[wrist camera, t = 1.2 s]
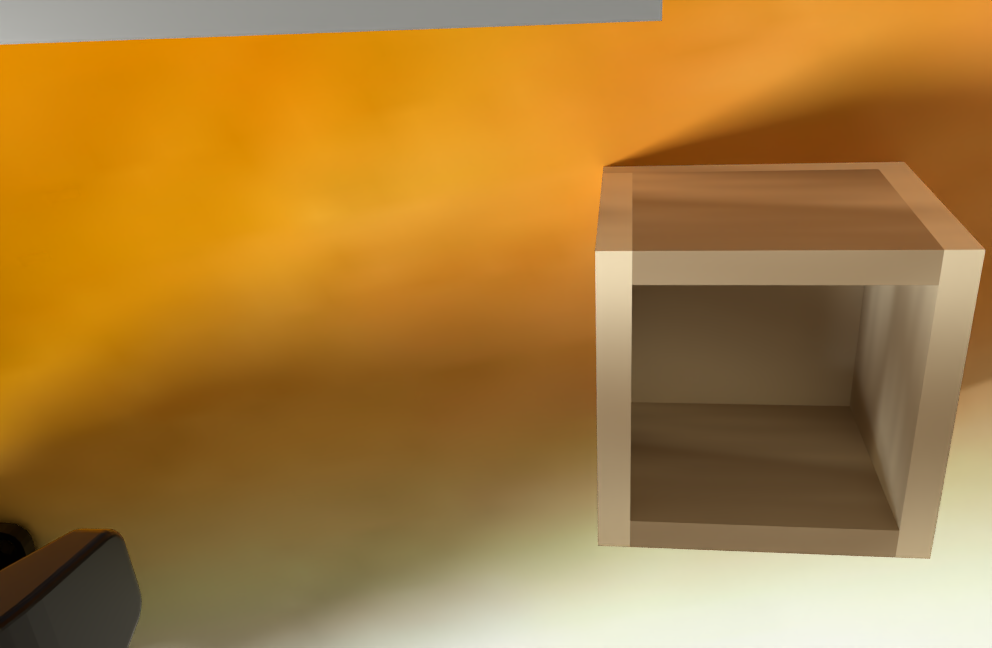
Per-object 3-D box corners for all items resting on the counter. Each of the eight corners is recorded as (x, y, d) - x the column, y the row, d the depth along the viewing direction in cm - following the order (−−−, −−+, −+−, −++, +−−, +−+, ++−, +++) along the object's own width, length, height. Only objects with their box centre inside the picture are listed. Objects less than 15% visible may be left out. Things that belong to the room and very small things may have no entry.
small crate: (868, 415, 22) (929, 558, 17) (605, 410, 22) (597, 545, 18) (902, 160, 19) (985, 250, 15) (603, 164, 20) (595, 251, 15)
